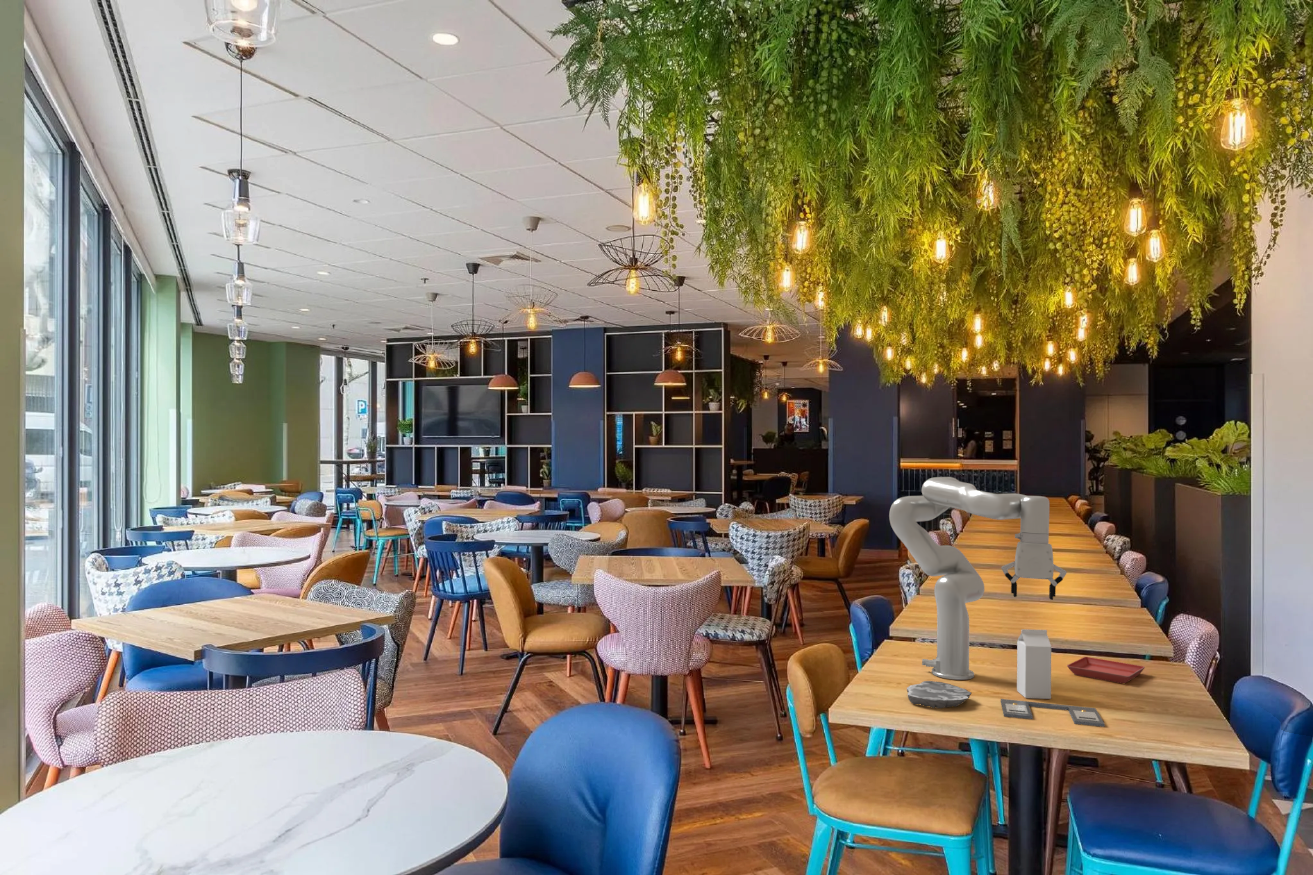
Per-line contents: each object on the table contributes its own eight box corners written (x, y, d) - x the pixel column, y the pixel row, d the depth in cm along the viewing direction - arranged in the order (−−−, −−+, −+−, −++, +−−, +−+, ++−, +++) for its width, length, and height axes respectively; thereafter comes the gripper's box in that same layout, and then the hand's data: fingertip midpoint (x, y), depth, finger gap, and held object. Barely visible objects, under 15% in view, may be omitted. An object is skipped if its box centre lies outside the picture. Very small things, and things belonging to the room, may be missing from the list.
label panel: (1003, 716, 226) (1004, 712, 226) (1000, 701, 240) (1000, 698, 240) (1104, 726, 219) (1104, 723, 219) (1095, 710, 232) (1095, 707, 232)
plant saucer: (1084, 665, 282) (1085, 655, 282) (1145, 676, 270) (1145, 665, 270) (1065, 675, 269) (1065, 665, 269) (1128, 687, 257) (1128, 676, 257)
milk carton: (1051, 699, 242) (1051, 632, 242) (1025, 698, 243) (1025, 632, 243) (1041, 692, 249) (1042, 627, 249) (1016, 691, 250) (1017, 626, 250)
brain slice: (962, 716, 227) (962, 704, 227) (899, 705, 236) (899, 694, 236) (977, 697, 244) (977, 687, 244) (917, 688, 253) (917, 678, 253)
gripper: (1003, 538, 246) (1001, 597, 246) (1069, 542, 240) (1067, 602, 240) (1001, 535, 253) (1000, 592, 253) (1065, 539, 247) (1063, 597, 247)
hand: (1032, 597), depth 247 cm, fingers open, 9 cm apart
